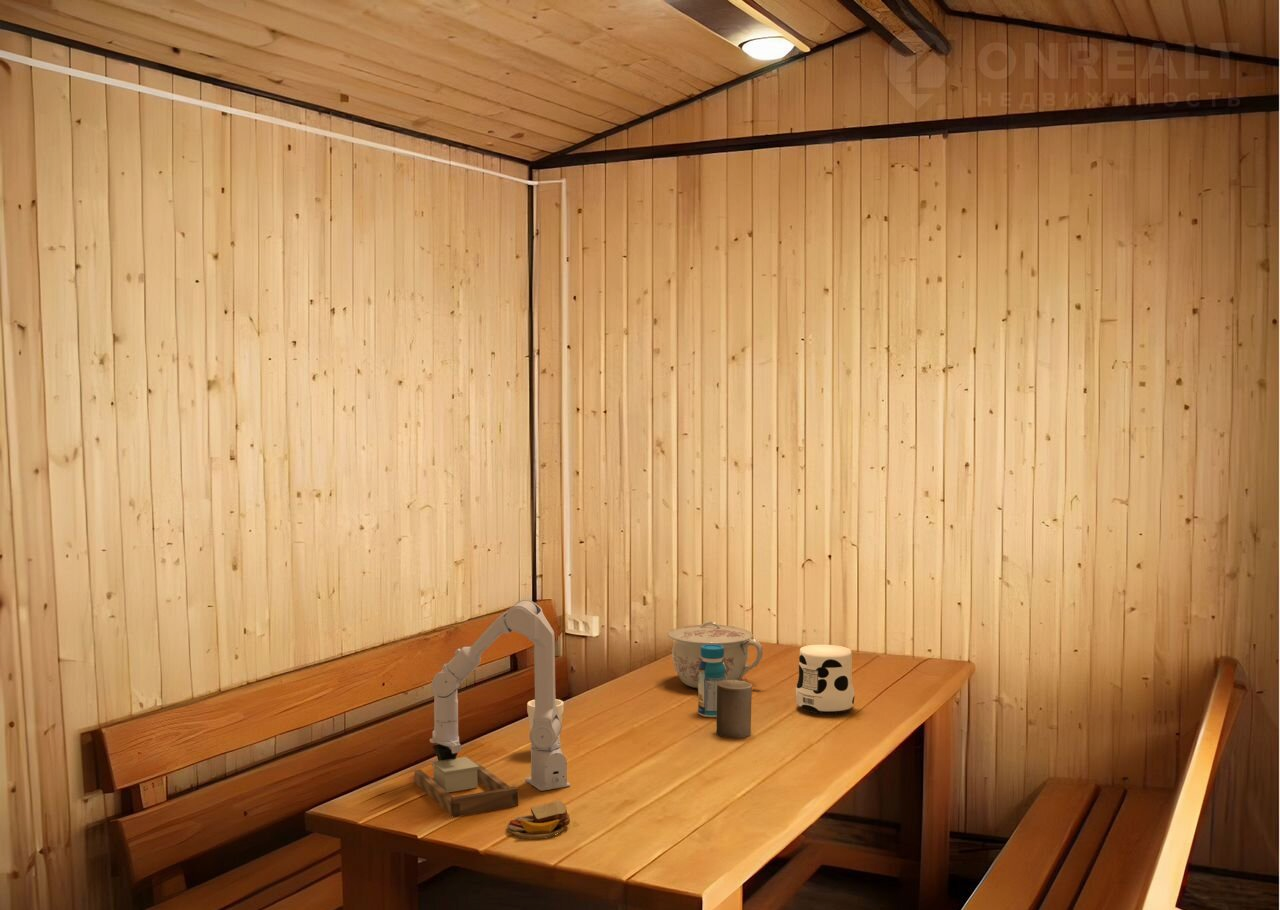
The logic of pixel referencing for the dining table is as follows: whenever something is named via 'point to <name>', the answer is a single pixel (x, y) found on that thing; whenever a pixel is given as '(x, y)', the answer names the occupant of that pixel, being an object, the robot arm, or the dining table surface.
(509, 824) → the toy sandwich meal
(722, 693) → the pillar candle
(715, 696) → the beverage bottle
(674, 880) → the dining table surface
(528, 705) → the foam cup
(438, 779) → the beige square block
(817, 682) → the milk container
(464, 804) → the bay
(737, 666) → the chamber pot
